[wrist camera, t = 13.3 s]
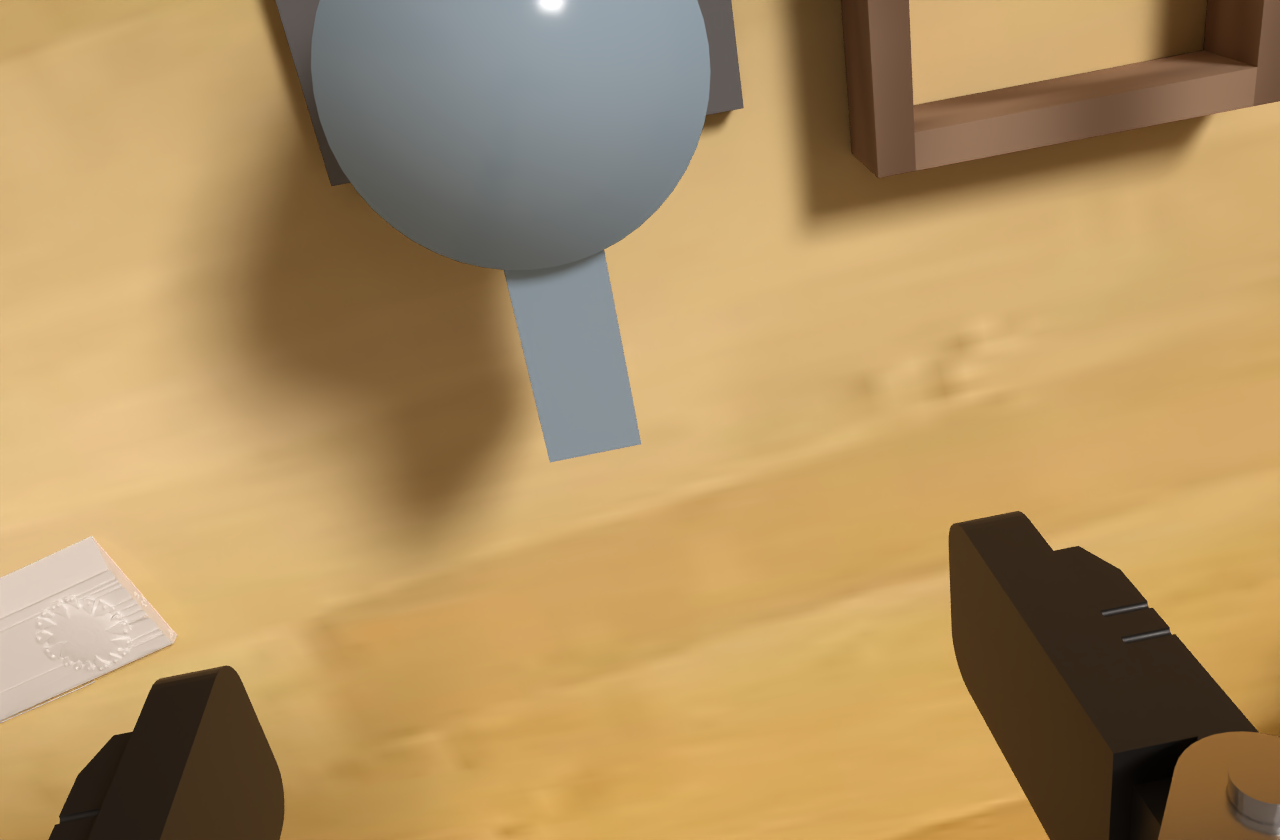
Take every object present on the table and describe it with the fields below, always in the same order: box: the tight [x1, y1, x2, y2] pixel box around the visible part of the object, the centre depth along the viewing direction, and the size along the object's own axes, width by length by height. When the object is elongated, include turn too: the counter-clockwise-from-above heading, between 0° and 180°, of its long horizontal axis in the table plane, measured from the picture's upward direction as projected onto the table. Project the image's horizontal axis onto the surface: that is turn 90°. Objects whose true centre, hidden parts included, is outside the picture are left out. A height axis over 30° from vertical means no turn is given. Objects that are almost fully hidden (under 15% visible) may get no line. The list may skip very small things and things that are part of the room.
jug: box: [311, 0, 711, 462], centre depth 24 cm, size 13×7×9 cm, turn 9°
